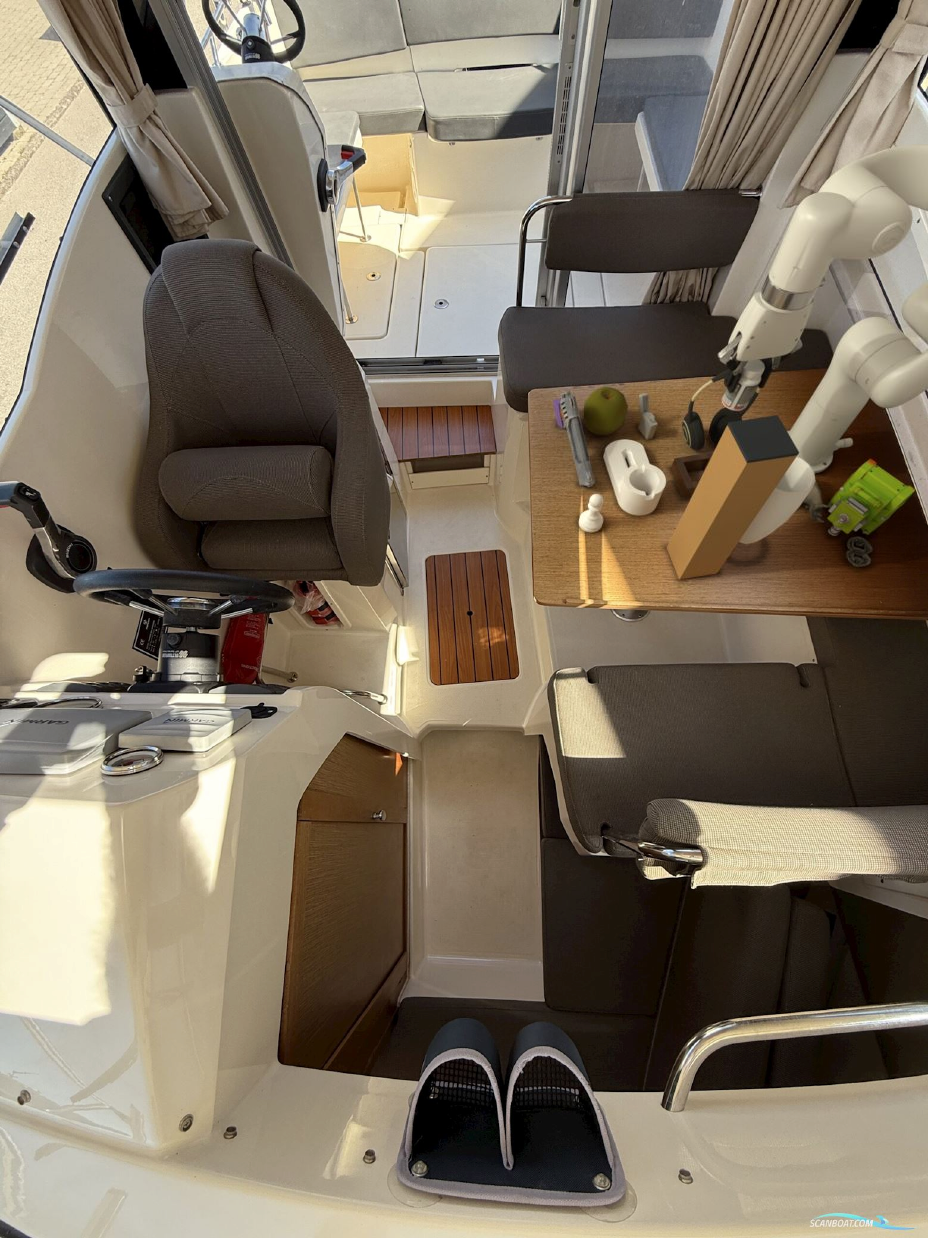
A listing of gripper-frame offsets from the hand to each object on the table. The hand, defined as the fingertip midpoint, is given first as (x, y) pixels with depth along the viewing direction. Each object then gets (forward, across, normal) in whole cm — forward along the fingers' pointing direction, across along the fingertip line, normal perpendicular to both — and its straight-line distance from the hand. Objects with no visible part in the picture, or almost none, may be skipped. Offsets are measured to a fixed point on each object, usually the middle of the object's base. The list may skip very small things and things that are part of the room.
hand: (743, 384), depth 104 cm
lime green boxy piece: (+20, -30, +15) cm, 39 cm away
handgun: (+29, +25, -18) cm, 42 cm away
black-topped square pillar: (+26, +9, +20) cm, 34 cm away
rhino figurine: (+26, -19, +11) cm, 34 cm away
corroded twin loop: (+27, -25, +25) cm, 44 cm away
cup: (+26, -2, +18) cm, 32 cm away
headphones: (+26, -5, -10) cm, 29 cm away
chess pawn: (+26, +27, +7) cm, 38 cm away
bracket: (+26, +15, -3) cm, 30 cm away
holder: (+26, +1, 0) cm, 26 cm away
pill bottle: (+4, 0, 0) cm, 4 cm away
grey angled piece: (+26, +8, -17) cm, 32 cm away
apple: (+26, +17, -20) cm, 37 cm away
